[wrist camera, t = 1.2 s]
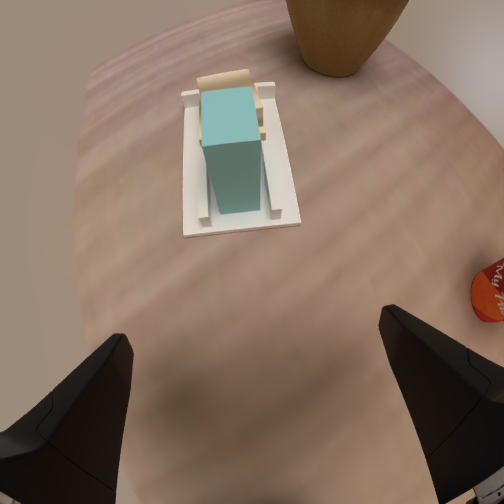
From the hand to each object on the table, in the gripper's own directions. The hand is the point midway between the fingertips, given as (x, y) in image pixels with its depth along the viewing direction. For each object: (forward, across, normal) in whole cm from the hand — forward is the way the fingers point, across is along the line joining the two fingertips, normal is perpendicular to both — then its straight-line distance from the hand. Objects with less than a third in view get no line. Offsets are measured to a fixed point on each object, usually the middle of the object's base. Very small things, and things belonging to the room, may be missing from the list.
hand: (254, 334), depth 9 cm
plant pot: (+33, -14, -13) cm, 38 cm away
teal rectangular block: (+18, 0, 0) cm, 18 cm away
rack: (+22, 0, -2) cm, 22 cm away
